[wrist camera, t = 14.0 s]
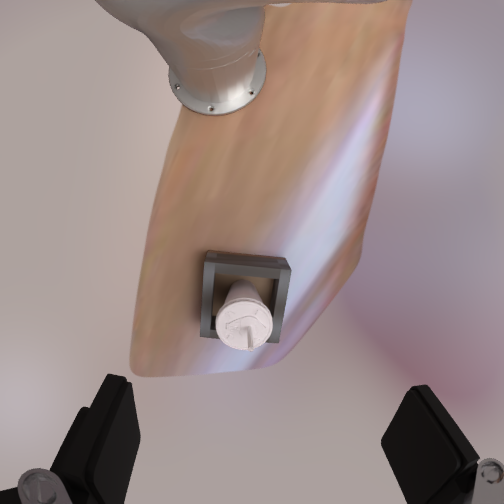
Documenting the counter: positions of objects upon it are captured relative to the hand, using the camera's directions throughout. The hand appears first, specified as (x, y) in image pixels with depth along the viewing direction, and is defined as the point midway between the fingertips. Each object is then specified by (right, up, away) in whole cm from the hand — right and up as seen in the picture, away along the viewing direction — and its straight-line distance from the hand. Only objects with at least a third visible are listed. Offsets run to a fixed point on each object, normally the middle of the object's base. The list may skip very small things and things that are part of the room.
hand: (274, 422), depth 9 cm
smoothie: (-2, 0, +34) cm, 34 cm away
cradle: (-2, 0, +35) cm, 35 cm away
